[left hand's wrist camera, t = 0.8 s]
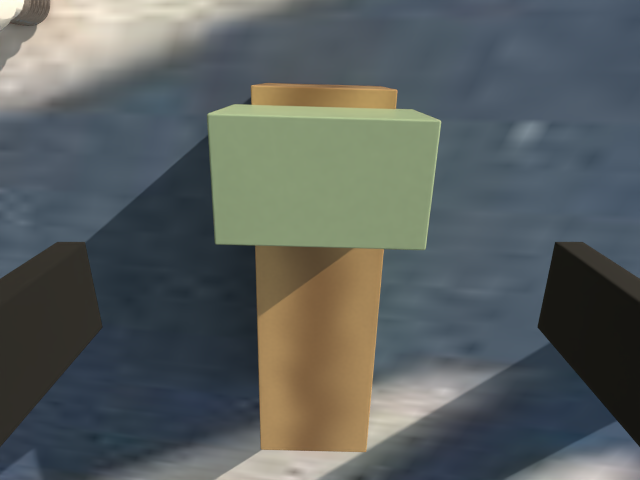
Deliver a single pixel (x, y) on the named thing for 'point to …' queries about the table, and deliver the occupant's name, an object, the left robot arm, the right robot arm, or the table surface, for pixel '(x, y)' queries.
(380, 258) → the wooden block
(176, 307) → the table surface
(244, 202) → the sage cap block
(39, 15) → the light bulb
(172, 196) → the table surface
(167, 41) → the table surface
